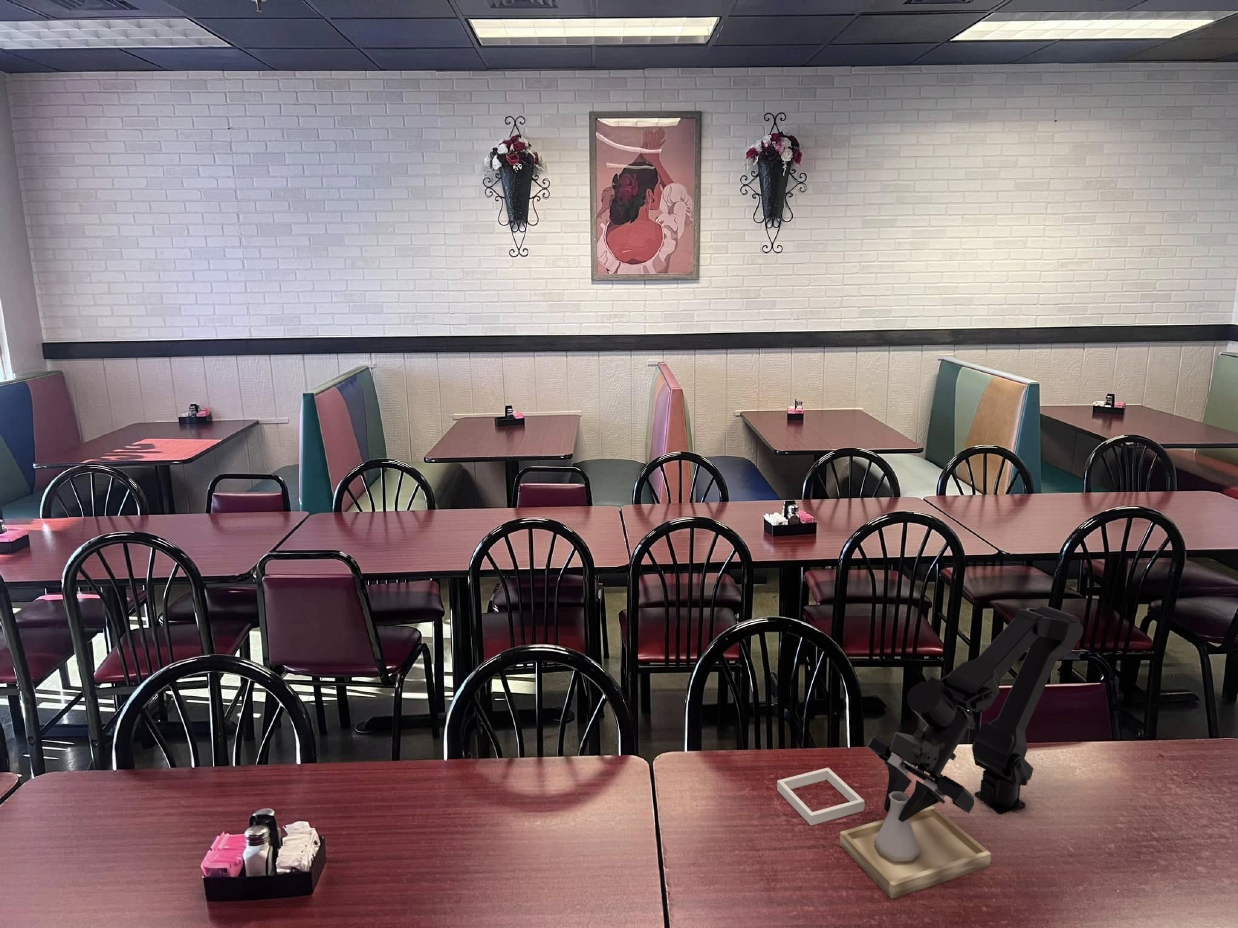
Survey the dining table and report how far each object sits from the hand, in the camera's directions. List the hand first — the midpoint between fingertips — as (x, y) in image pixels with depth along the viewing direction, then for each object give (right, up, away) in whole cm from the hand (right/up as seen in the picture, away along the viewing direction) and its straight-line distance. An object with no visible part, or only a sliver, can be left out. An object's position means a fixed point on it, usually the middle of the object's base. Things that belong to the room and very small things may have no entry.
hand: (892, 815), depth 139 cm
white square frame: (-8, -5, +18) cm, 20 cm away
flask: (+1, -7, +2) cm, 7 cm away
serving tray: (+4, -8, +2) cm, 9 cm away
